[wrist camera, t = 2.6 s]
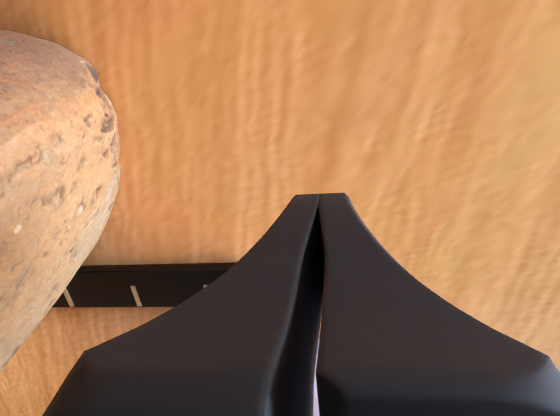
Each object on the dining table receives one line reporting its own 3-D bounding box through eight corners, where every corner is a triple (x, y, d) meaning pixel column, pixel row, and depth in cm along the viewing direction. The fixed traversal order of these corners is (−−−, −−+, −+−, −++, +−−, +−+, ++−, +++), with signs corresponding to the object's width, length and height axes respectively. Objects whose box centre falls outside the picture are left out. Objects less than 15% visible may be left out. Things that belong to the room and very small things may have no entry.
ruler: (249, 299, 23) (247, 307, 22) (-73, 301, 25) (-83, 309, 25) (243, 261, 21) (240, 269, 21) (-96, 269, 24) (-106, 276, 24)
